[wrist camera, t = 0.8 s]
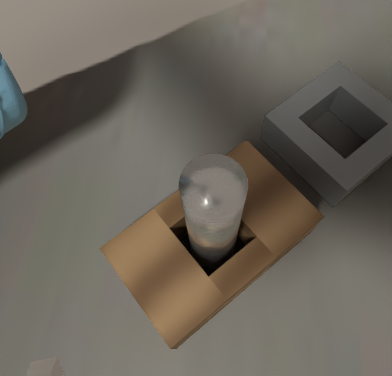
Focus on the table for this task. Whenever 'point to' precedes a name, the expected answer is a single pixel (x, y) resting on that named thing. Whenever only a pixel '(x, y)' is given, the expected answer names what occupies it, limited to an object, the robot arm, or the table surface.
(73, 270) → the table surface
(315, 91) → the socket
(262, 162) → the tan hollow box
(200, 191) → the translucent white cylinder
